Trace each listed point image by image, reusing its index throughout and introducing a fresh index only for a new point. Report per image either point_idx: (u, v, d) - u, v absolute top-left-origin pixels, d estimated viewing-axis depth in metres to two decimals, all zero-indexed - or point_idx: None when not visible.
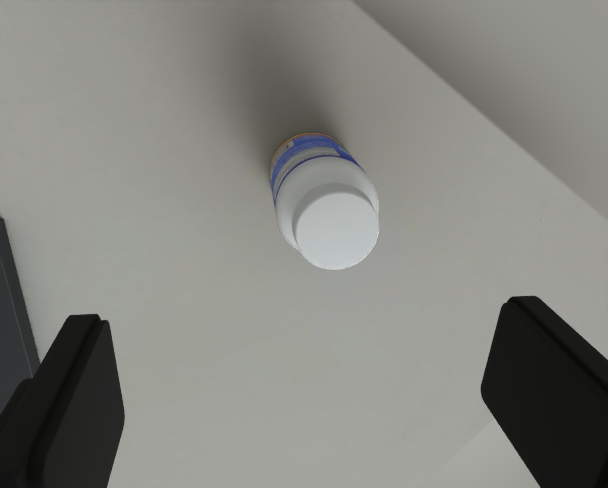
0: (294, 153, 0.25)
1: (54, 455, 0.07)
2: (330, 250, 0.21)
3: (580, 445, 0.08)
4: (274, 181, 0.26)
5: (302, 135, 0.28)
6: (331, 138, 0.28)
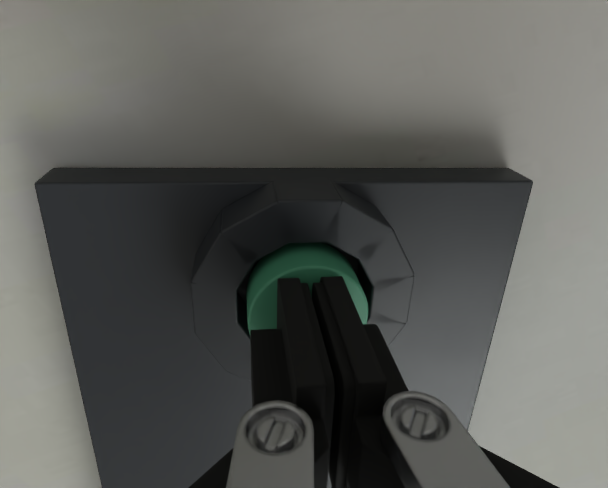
0: None
1: None
2: None
3: (335, 412, 0.09)
4: None
5: None
6: None
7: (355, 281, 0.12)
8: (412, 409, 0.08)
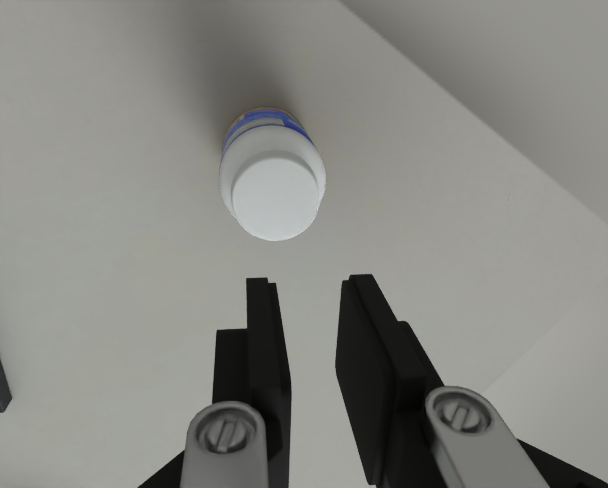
0: (241, 125, 0.24)
1: None
2: (269, 220, 0.21)
3: (372, 407, 0.09)
4: (222, 154, 0.25)
5: (254, 109, 0.27)
6: (285, 112, 0.27)
7: None
8: (455, 403, 0.08)
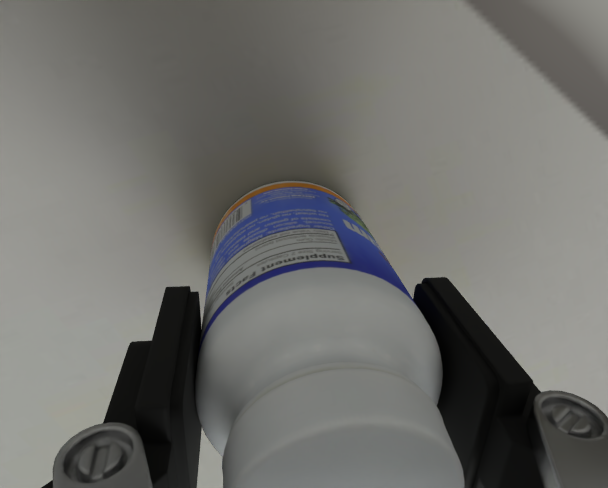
0: (247, 240, 0.11)
1: (184, 397, 0.08)
2: None
3: (465, 411, 0.09)
4: None
5: (271, 188, 0.14)
6: (328, 193, 0.14)
7: None
8: (567, 409, 0.08)
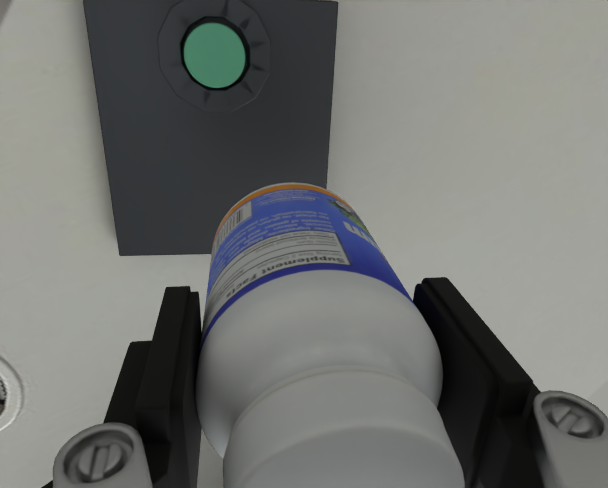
0: (248, 242, 0.11)
1: (184, 397, 0.08)
2: None
3: (464, 411, 0.09)
4: (206, 300, 0.12)
5: (271, 190, 0.14)
6: (328, 195, 0.14)
7: (236, 34, 0.24)
8: (566, 409, 0.08)
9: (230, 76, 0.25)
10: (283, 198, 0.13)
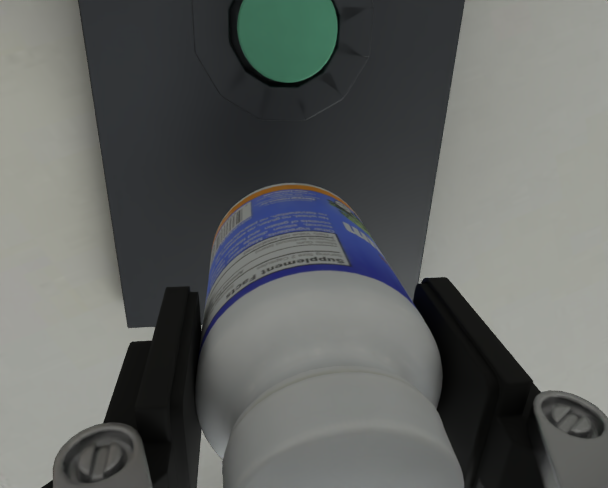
0: (247, 243, 0.11)
1: (185, 397, 0.08)
2: None
3: (465, 411, 0.09)
4: None
5: (271, 190, 0.14)
6: (328, 195, 0.14)
7: None
8: (567, 409, 0.08)
9: (311, 63, 0.15)
10: (283, 199, 0.13)
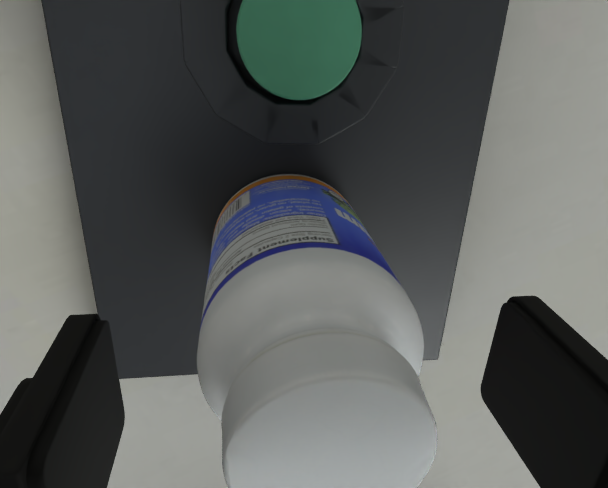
0: (245, 226, 0.12)
1: (54, 455, 0.07)
2: None
3: (580, 445, 0.08)
4: (207, 280, 0.13)
5: (268, 180, 0.15)
6: (322, 185, 0.15)
7: None
8: None
9: (329, 77, 0.12)
10: (279, 187, 0.14)
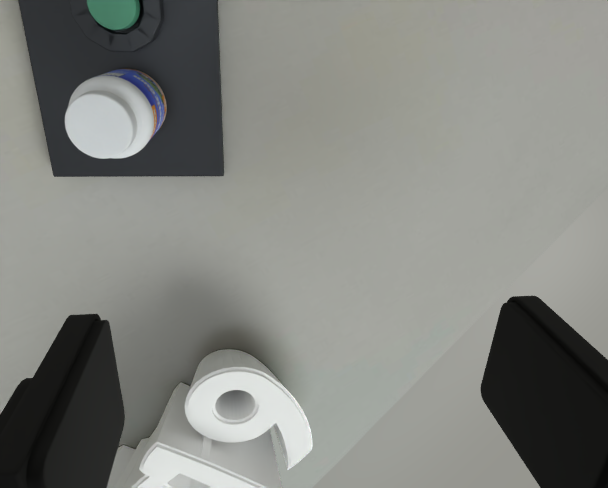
0: None
1: (54, 455, 0.07)
2: (95, 141, 0.28)
3: (580, 445, 0.08)
4: None
5: None
6: (140, 72, 0.35)
7: None
8: None
9: (125, 20, 0.32)
10: (117, 70, 0.34)
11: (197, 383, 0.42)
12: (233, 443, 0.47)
